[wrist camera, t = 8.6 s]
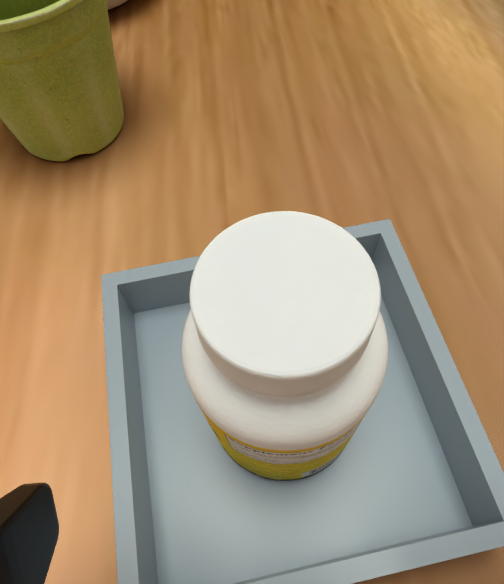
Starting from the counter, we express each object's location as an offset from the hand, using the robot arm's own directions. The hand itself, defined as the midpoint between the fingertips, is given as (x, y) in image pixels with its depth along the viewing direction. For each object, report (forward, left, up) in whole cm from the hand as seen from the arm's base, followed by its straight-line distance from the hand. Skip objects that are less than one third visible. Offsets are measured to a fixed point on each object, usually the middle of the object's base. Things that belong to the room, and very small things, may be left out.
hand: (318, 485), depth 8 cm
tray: (+4, -1, -10) cm, 11 cm away
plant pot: (+23, +7, -10) cm, 26 cm away
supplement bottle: (+4, 0, -10) cm, 11 cm away
